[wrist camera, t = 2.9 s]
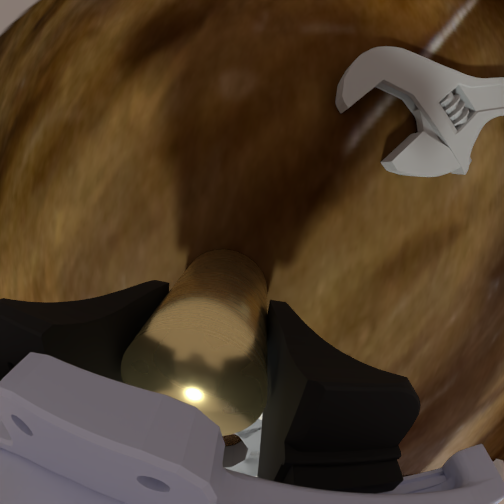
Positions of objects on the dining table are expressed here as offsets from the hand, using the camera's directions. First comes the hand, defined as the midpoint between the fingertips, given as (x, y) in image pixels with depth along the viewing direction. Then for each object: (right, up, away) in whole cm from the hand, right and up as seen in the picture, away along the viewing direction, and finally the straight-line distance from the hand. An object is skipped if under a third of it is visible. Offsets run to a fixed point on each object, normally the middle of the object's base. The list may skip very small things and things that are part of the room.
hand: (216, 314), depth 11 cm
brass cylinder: (0, +1, +2) cm, 2 cm away
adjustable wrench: (+17, +11, -1) cm, 21 cm away
